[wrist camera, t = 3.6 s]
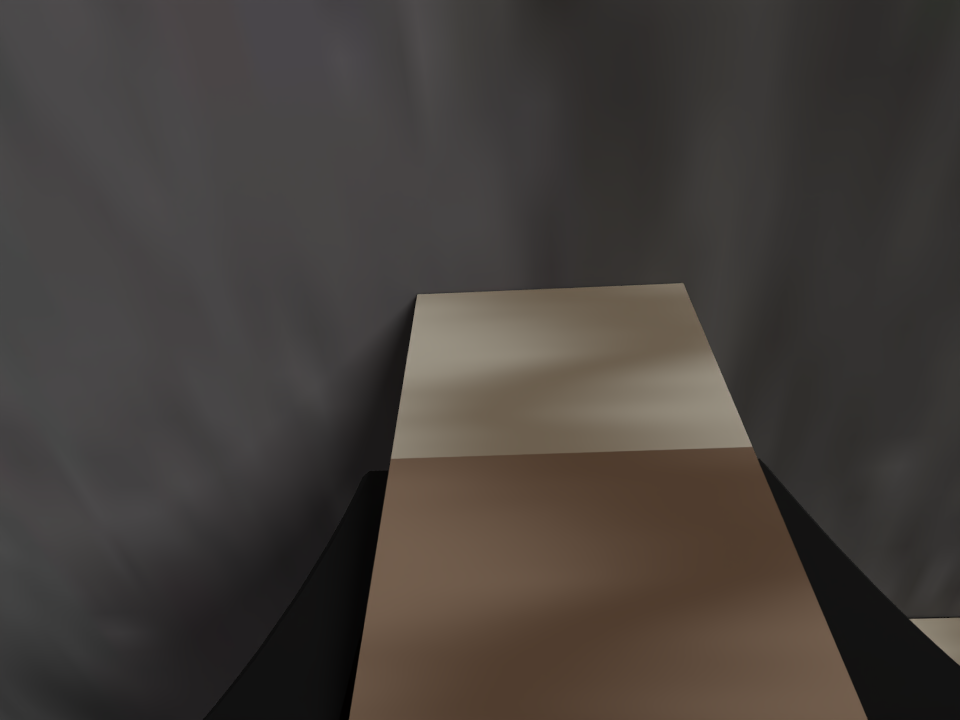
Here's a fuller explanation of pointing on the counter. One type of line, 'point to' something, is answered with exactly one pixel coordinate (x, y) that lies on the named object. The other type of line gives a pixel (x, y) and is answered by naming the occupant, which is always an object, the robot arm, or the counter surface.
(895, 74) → the counter surface
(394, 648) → the block stack
